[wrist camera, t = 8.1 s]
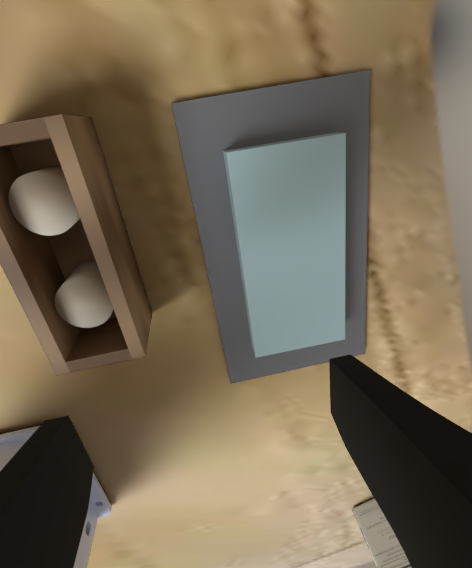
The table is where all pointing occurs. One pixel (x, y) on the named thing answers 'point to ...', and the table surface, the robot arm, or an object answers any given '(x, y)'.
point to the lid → (291, 239)
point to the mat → (218, 212)
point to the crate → (69, 245)
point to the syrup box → (380, 536)
